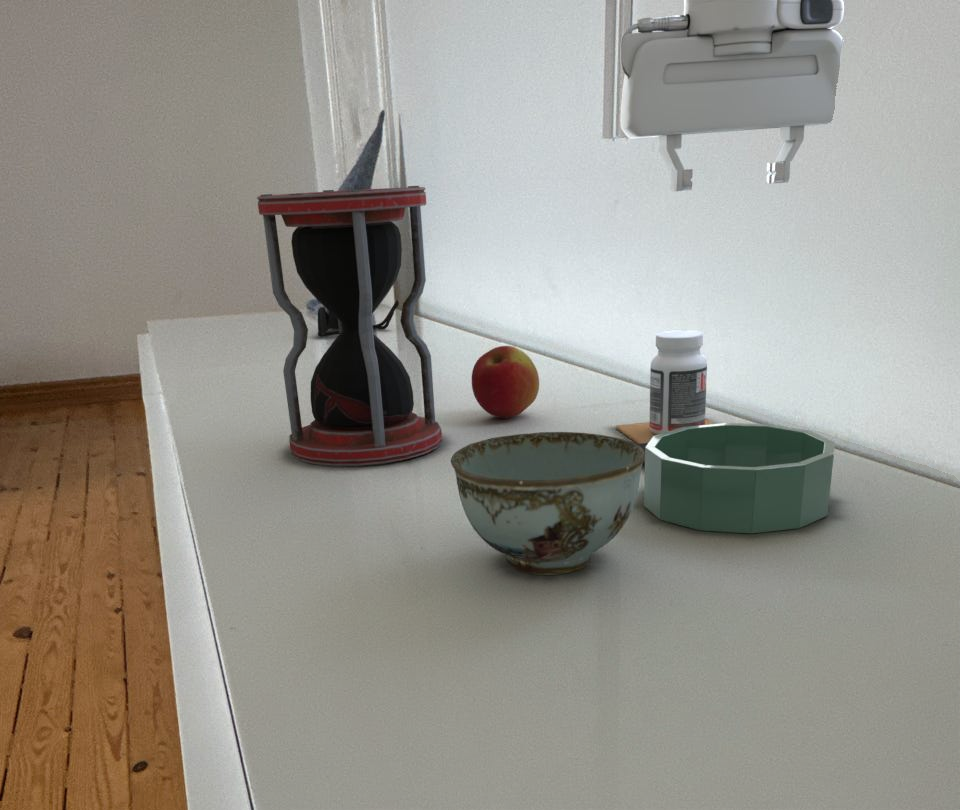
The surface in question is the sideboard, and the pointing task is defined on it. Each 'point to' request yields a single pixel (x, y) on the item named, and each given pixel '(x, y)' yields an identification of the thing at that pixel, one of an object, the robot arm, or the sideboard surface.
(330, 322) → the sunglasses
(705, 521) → the green bowl
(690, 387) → the pill bottle
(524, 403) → the apple
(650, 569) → the sideboard surface
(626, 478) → the bowl
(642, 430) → the cork coaster
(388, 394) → the hourglass
